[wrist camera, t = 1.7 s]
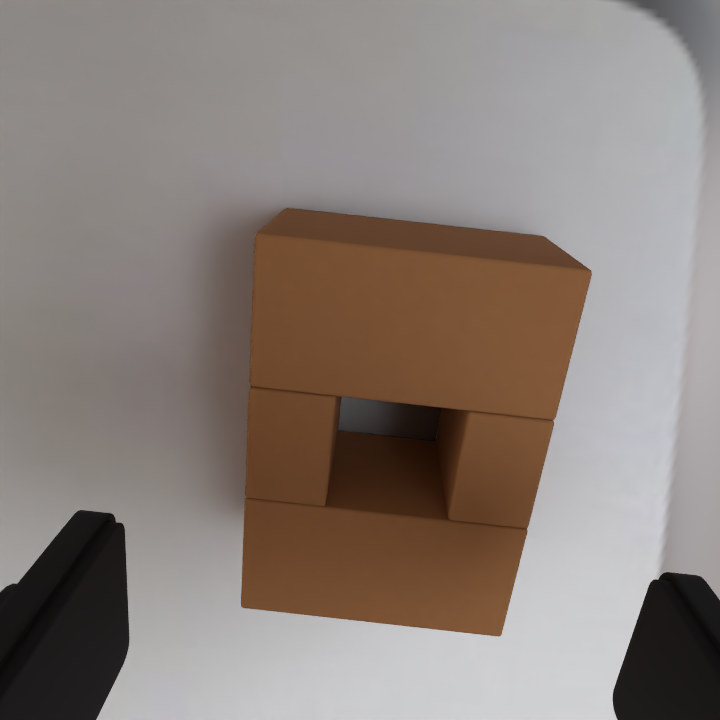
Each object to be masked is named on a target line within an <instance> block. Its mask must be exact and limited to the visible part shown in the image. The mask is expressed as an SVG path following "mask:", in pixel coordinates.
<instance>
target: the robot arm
mask: <svg viewBox="0 0 720 720" xmlns="http://www.w3.org/2000/svg"><path fill="white" fill-rule="evenodd" d="M128 647H129V621H128V597H127V572H126V548H125V528H124V525H123V524H122V523H116V521H115V517H114V515H113V514H111V513H103V512H93V511H84V510H80V511H77V512H76V513H75V514H74V515H73V516H72V518H71V519H70V520H69V521H68V522H67V524H66V525H65V526H64V527H63V529H62V530H61V531H60V532H59V533H58V535H57V536H56V537H55V538H54V540H53V541H52V542H51V543H50V545H49V546H48V547H47V548H46V549H45V551H44V552H43V553H42V554H41V556H40V557H39V558H38V559H37V560H36V562H35V563H34V564H33V565H32V567H31V568H30V569H29V570H28V571H27V573H26V574H25V575H24V576H23V578H22V579H21V580H20V581H19V583H18V584H11V585H9V586H7V587H5V588H4V589H3V590H2V591H1V592H0V720H96V719H97V717H98V715H99V713H100V711H101V709H102V707H103V705H104V702H105V700H106V698H107V696H108V694H109V692H110V690H111V688H112V686H113V684H114V682H115V680H116V678H117V676H118V674H119V672H120V670H121V668H122V666H123V663H124V661H125V658H126V655H127V652H128ZM613 706H614V711H615V714H616V717H617V719H618V720H720V600H719V599H718V597H717V596H716V595H715V593H714V592H713V591H712V589H711V588H710V587H709V585H708V584H707V582H706V581H705V580H704V579H703V578H702V577H700V576H697V575H688V574H679V573H670V572H666V573H663V574H662V575H661V576H660V578H659V580H653V581H652V582H651V583H650V585H649V587H648V590H647V593H646V596H645V599H644V602H643V605H642V608H641V611H640V614H639V617H638V620H637V623H636V626H635V629H634V632H633V635H632V637H631V640H630V643H629V646H628V649H627V652H626V655H625V658H624V661H623V664H622V667H621V670H620V673H619V676H618V679H617V682H616V685H615V688H614V691H613Z"/></svg>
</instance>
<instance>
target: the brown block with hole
mask: <svg viewBox="0 0 720 720" xmlns="http://www.w3.org/2000/svg"><path fill="white" fill-rule="evenodd" d="M591 275H592V273H591V270H590V269H588V268H587V267H585V266H584V265H583V264H581V263H580V262H579V261H577V260H576V259H574V258H573V257H572V256H570V255H569V254H568V253H566V252H565V251H563V250H562V249H561V248H559V247H558V246H557V245H555V244H554V243H552V242H551V241H550V240H548V239H547V238H545V237H544V236H536V235H527V234H518V233H509V232H500V231H491V230H482V229H473V228H464V227H455V226H446V225H437V224H428V223H419V222H410V221H401V220H392V219H383V218H374V217H365V216H356V215H347V214H338V213H329V212H320V211H311V210H302V209H293V208H287V209H285V210H284V211H282V212H281V213H280V214H279V215H278V216H276V217H275V218H274V219H273V220H272V221H270V222H269V223H268V224H267V225H266V226H265V227H263V228H262V229H261V230H260V231H259V232H257V233H256V235H255V243H254V271H253V298H252V325H251V353H250V380H249V382H250V385H251V387H250V389H249V403H248V430H247V458H246V485H245V495H246V498H245V511H244V538H243V565H242V593H241V606H242V607H243V608H250V609H259V610H268V611H277V612H286V613H295V614H304V615H313V616H321V617H330V618H339V619H348V620H357V621H366V622H375V623H384V624H393V625H402V626H411V627H420V628H429V629H438V630H447V631H455V632H464V633H473V634H482V635H491V636H501V634H502V630H503V626H504V622H505V618H506V614H507V610H508V606H509V602H510V598H511V594H512V590H513V586H514V582H515V578H516V574H517V570H518V566H519V562H520V558H521V554H522V551H523V547H524V543H525V539H526V535H527V527H528V525H529V521H530V517H531V513H532V509H533V505H534V501H535V497H536V493H537V489H538V485H539V481H540V478H541V474H542V470H543V466H544V462H545V458H546V454H547V450H548V446H549V442H550V438H551V434H552V430H553V426H554V421H553V419H555V417H556V414H557V410H558V406H559V402H560V398H561V394H562V390H563V386H564V382H565V378H566V374H567V370H568V366H569V362H570V358H571V354H572V350H573V346H574V342H575V338H576V334H577V330H578V327H579V323H580V319H581V315H582V311H583V307H584V303H585V299H586V295H587V291H588V287H589V283H590V279H591ZM341 396H342V397H351V398H360V399H369V400H378V401H387V402H396V403H405V404H414V405H423V406H432V407H441V413H440V419H439V424H438V430H437V436H436V442H434V441H425V440H416V439H407V438H398V437H389V436H380V435H371V434H363V433H354V432H345V431H338V425H339V415H340V405H341Z"/></svg>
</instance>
